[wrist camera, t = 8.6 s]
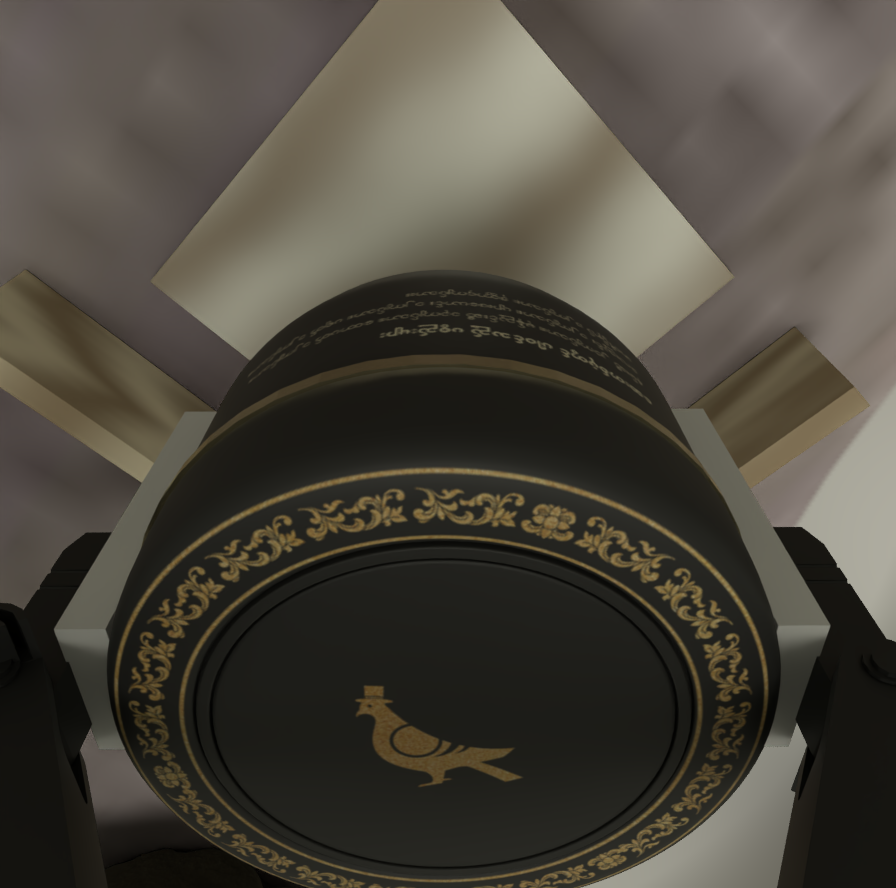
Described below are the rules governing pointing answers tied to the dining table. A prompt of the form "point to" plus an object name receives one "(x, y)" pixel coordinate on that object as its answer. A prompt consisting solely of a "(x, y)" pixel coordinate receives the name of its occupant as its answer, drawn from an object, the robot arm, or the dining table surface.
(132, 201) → the dining table surface
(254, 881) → the stone bowl
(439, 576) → the jar
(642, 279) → the arena
